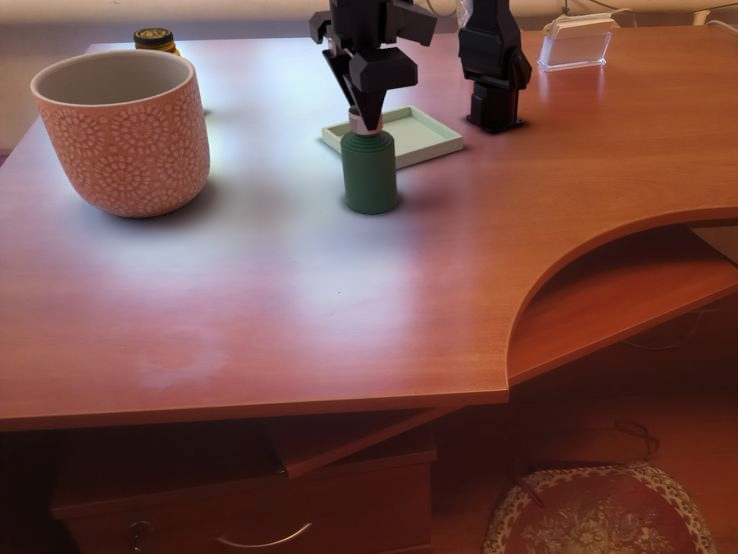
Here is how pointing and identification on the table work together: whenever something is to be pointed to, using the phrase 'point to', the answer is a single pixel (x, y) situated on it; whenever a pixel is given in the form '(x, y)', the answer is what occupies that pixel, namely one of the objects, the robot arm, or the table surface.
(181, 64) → the planter
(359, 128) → the cap
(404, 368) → the table surface
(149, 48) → the condiment
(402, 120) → the tray
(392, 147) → the bottle
